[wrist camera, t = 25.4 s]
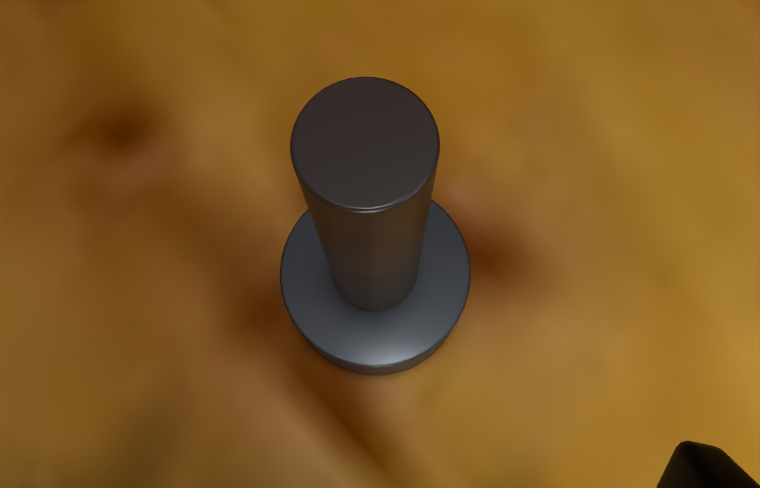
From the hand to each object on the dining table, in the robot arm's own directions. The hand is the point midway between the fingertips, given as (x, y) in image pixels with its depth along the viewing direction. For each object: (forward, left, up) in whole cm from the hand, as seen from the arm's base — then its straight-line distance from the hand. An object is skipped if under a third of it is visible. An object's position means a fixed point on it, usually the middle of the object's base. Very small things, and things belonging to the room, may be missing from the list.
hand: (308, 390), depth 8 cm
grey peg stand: (+3, -2, -10) cm, 11 cm away
